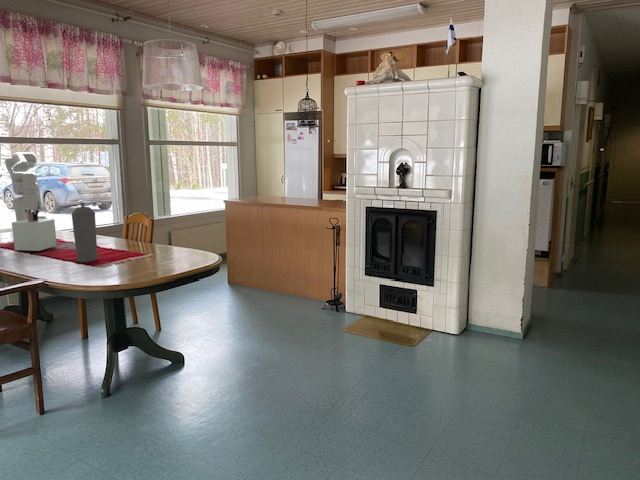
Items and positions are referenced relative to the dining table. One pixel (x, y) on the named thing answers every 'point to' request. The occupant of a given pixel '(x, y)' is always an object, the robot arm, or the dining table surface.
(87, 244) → the canister
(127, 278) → the dining table surface
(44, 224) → the cover
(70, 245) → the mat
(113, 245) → the dining table surface
